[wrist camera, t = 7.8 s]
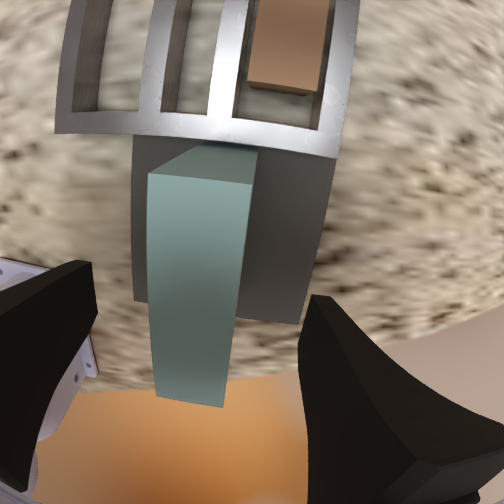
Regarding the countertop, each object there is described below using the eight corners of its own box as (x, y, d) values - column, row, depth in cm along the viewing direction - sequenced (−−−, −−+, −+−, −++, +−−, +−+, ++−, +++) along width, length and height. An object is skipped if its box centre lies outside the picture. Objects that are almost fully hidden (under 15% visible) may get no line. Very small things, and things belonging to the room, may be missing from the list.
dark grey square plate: (297, 320, 19) (298, 324, 19) (136, 297, 19) (134, 300, 18) (335, 153, 15) (337, 154, 14) (136, 129, 15) (133, 130, 14)
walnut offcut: (303, 96, 14) (316, 91, 10) (251, 88, 14) (246, 80, 10) (316, 5, 12) (332, -24, 8) (265, -3, 12) (265, -35, 8)
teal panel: (238, 292, 18) (222, 407, 11) (194, 286, 18) (156, 396, 11) (258, 147, 15) (252, 184, 7) (206, 140, 14) (148, 173, 7)
